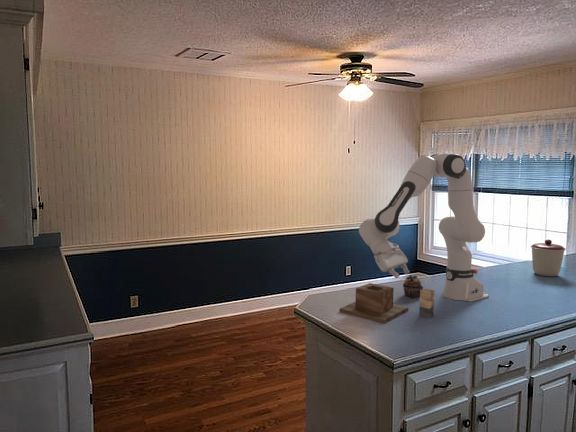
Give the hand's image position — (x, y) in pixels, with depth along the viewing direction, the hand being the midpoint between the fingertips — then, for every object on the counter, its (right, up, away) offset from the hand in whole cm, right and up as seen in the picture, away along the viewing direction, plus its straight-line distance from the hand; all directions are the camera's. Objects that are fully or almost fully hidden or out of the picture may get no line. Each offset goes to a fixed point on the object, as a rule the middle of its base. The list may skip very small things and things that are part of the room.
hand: (403, 275), depth 205 cm
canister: (+102, -9, +69) cm, 123 cm away
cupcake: (+11, -13, +23) cm, 29 cm away
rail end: (+9, -17, -6) cm, 20 cm away
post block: (-13, -16, -1) cm, 20 cm away
